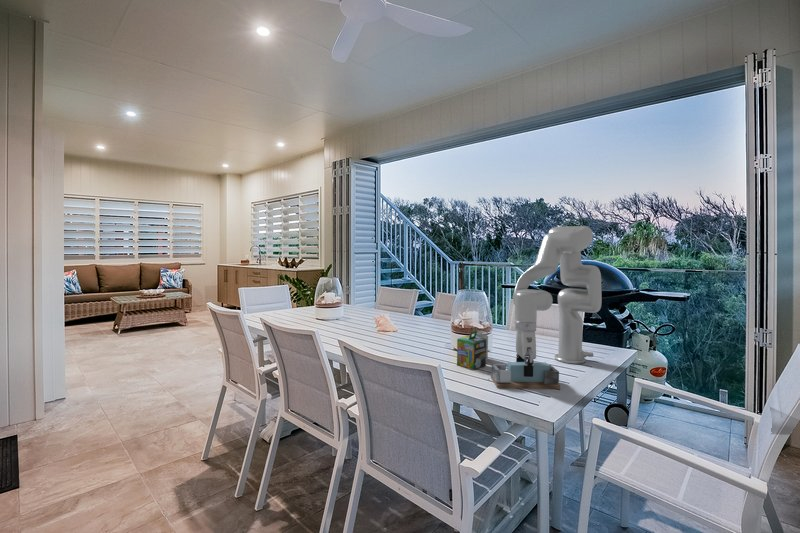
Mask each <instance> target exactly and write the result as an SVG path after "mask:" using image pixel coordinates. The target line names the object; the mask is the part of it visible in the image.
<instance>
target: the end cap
mask: <svg viewBox="0 0 800 533" xmlns="http://www.w3.org/2000/svg"><path fill="white" fill-rule="evenodd" d="M491 375H492V376H493V378H494V379H495V381H496V383H511V371H510V370H508V369H507V364H505V363H501V364H500V363H492V364H491Z"/></svg>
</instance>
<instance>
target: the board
mask: <svg viewBox="0 0 800 533" xmlns="http://www.w3.org/2000/svg"><path fill="white" fill-rule="evenodd" d="M548 365H549V366H550V371H544V381H543V382H513V381H511V383H496V381H495V379H494V378H493V376H492V374H490V379H491V381H492V382H493V384H494V386H495V387H496V388H497V389H530V390H531V389H532V390H533V389H537V390H538V389H539V390H541V389H542V390H560V389H561V385H560V384H559V383H560V371H559V370H558V369H556V368H555V367H554V366H553V365H552V364H548Z"/></svg>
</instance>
